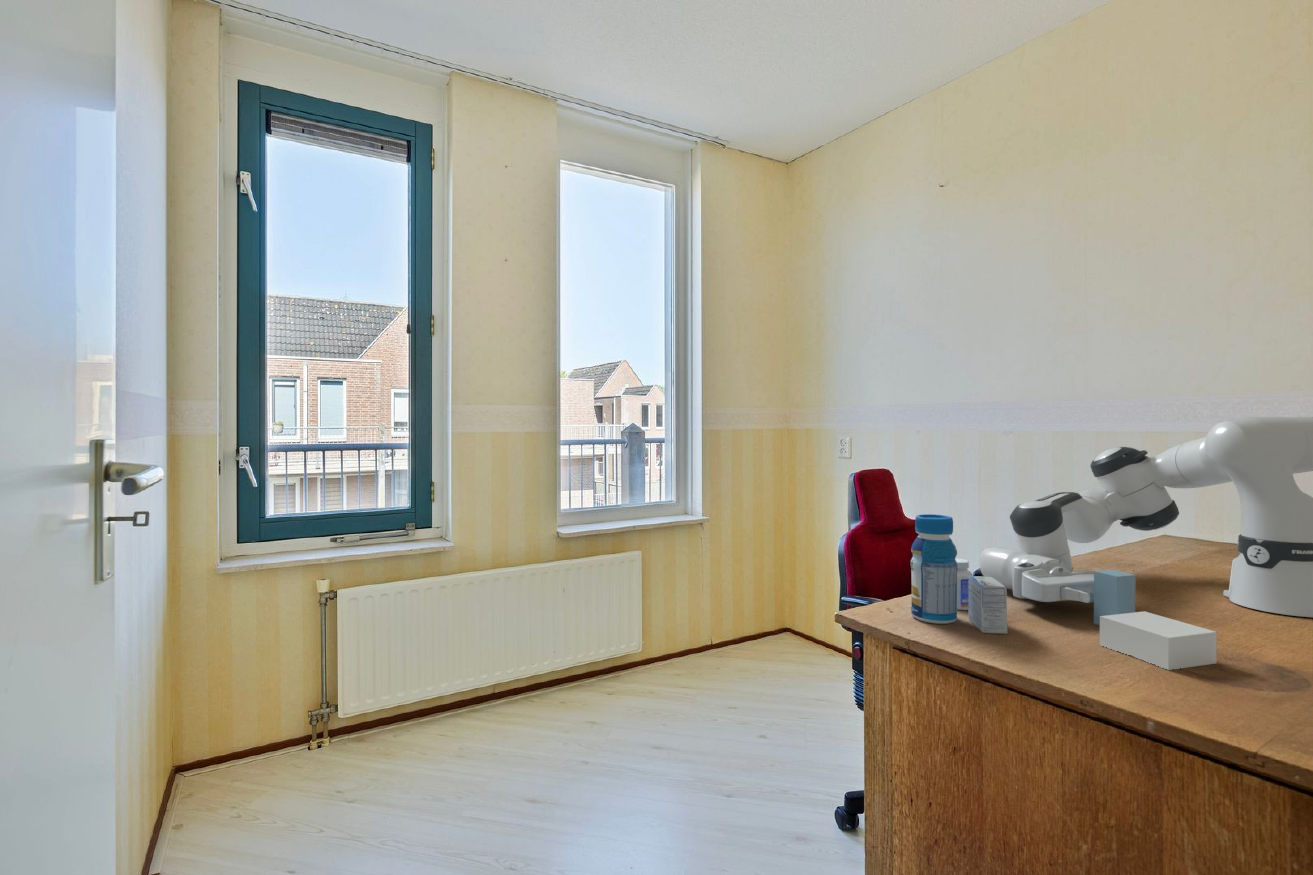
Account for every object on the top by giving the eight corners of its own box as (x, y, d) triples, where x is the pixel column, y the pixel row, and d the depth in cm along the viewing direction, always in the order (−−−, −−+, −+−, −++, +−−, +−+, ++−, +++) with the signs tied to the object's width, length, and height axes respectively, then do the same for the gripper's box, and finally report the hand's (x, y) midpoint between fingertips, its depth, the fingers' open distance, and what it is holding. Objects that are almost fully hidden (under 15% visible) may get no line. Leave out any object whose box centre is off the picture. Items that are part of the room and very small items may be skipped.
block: (1111, 621, 116) (1112, 569, 116) (1135, 628, 112) (1135, 574, 112) (1093, 623, 115) (1094, 571, 115) (1116, 631, 111) (1116, 576, 110)
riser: (1144, 639, 106) (1144, 611, 106) (1216, 663, 95) (1216, 631, 95) (1099, 645, 104) (1099, 616, 103) (1168, 670, 93) (1168, 637, 93)
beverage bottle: (941, 628, 113) (941, 521, 112) (901, 616, 120) (901, 515, 120) (966, 619, 117) (967, 517, 117) (927, 609, 125) (927, 512, 124)
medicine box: (1007, 634, 109) (1008, 587, 109) (980, 633, 110) (981, 586, 110) (992, 621, 117) (992, 576, 117) (967, 619, 118) (967, 575, 118)
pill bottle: (972, 604, 127) (972, 558, 127) (973, 611, 122) (973, 564, 122) (943, 601, 130) (943, 556, 129) (943, 608, 125) (943, 561, 125)
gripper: (1085, 589, 130) (1152, 608, 116) (1006, 597, 125) (1067, 617, 111) (1085, 560, 130) (1153, 575, 116) (1007, 566, 125) (1068, 583, 111)
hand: (1110, 596), depth 114 cm, fingers open, 8 cm apart
